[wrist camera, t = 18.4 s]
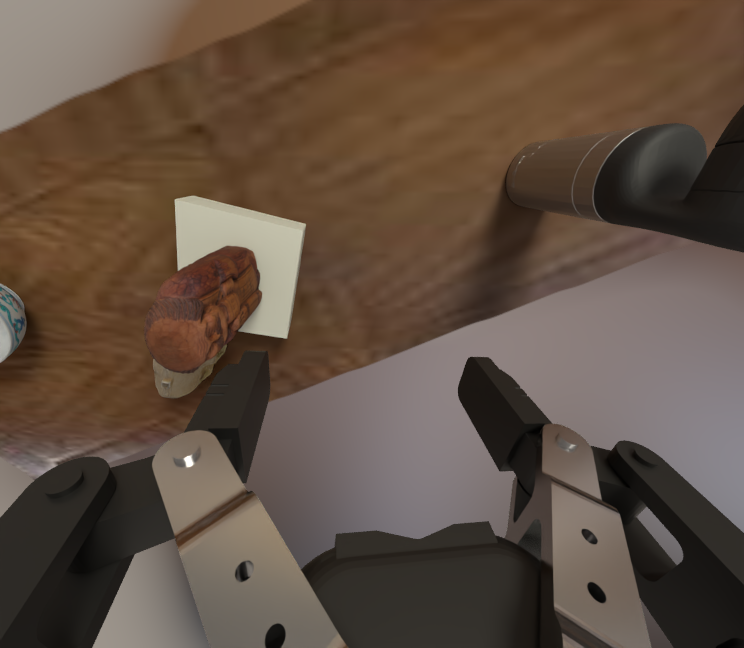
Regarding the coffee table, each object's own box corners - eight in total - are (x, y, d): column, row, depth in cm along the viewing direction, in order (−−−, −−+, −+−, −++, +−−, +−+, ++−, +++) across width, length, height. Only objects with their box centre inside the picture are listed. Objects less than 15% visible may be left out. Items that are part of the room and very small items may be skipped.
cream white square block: (306, 223, 44) (303, 230, 39) (291, 321, 52) (286, 338, 47) (194, 195, 41) (174, 199, 35) (196, 305, 48) (180, 322, 43)
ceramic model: (161, 309, 48) (123, 340, 39) (231, 327, 51) (210, 360, 42) (154, 372, 53) (120, 411, 44) (218, 385, 56) (197, 424, 48)
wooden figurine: (265, 319, 44) (215, 399, 28) (222, 316, 44) (147, 396, 28) (259, 243, 39) (194, 289, 23) (211, 239, 38) (109, 283, 22)
